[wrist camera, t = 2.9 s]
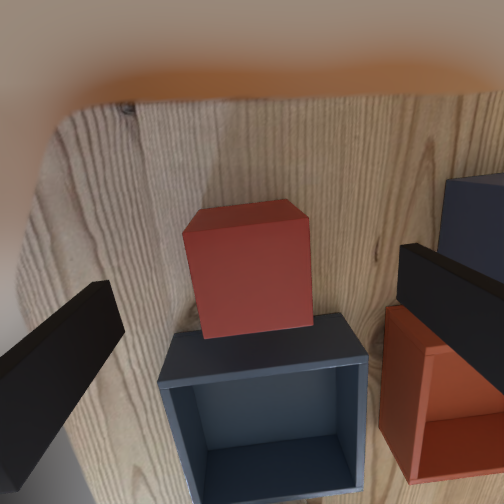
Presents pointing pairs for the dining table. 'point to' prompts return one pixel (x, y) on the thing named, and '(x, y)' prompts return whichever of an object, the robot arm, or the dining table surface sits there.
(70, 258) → the dining table surface
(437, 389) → the red bin
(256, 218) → the red block
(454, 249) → the blue block
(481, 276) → the robot arm
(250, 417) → the blue bin
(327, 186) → the dining table surface
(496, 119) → the dining table surface
